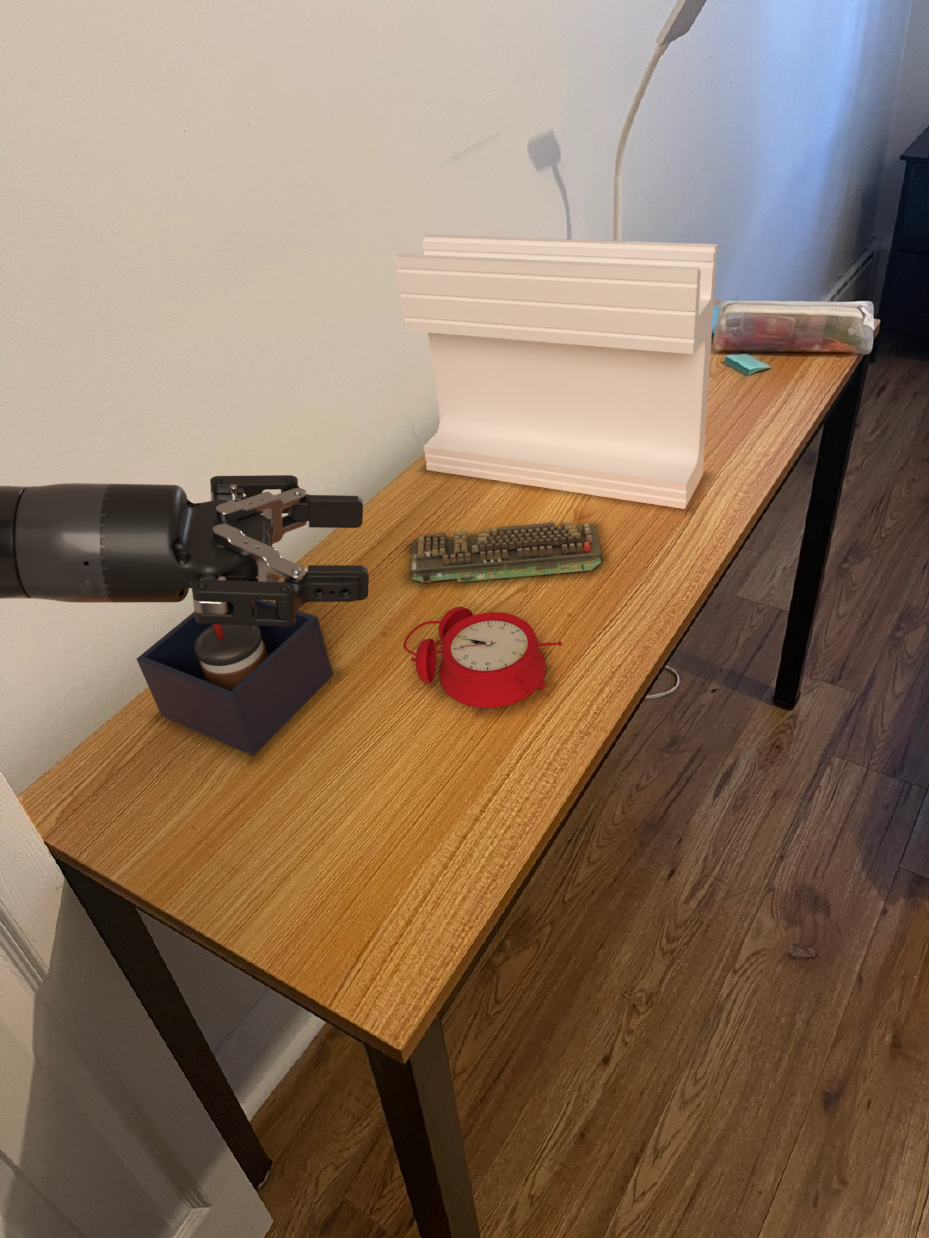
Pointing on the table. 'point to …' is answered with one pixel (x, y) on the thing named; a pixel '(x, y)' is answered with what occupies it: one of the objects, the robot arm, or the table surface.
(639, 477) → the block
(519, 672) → the alarm clock
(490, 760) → the table surface
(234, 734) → the bin
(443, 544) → the keyboard
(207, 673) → the paper cup
